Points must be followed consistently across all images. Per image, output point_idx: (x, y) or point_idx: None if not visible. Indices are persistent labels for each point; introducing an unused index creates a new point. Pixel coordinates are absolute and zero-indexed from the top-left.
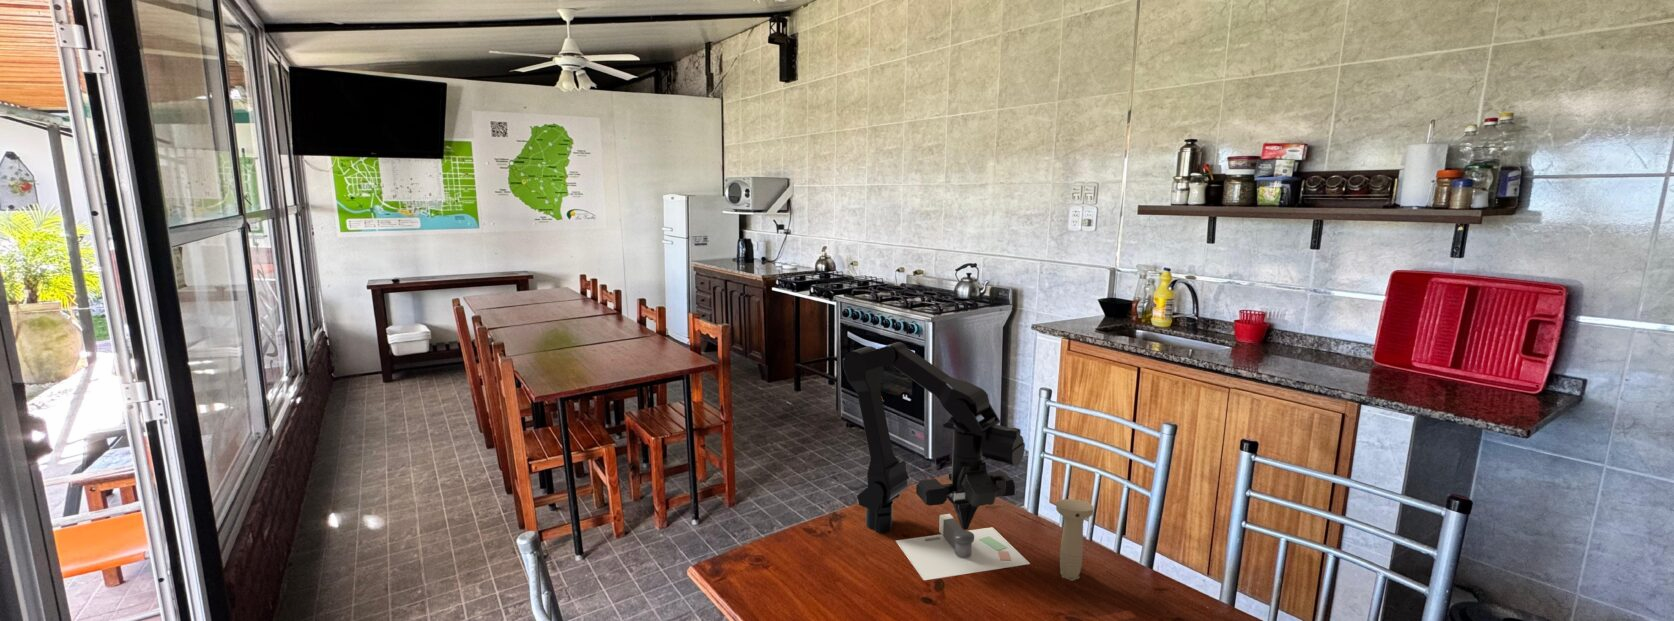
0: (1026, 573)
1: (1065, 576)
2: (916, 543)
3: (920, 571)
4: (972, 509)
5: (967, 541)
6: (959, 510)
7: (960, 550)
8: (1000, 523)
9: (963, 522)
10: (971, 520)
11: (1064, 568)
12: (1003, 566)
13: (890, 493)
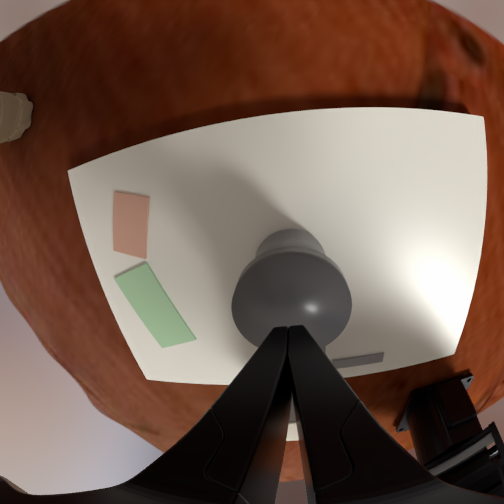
0: (93, 138)
1: (19, 101)
2: (416, 341)
3: (480, 172)
4: (220, 465)
5: (291, 252)
6: (407, 456)
7: (317, 247)
8: (131, 388)
9: (321, 358)
10: (241, 369)
11: (2, 97)
12: (149, 150)
13: (498, 470)
